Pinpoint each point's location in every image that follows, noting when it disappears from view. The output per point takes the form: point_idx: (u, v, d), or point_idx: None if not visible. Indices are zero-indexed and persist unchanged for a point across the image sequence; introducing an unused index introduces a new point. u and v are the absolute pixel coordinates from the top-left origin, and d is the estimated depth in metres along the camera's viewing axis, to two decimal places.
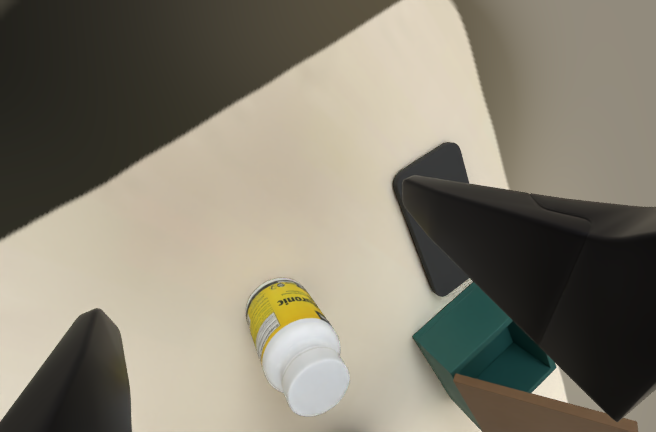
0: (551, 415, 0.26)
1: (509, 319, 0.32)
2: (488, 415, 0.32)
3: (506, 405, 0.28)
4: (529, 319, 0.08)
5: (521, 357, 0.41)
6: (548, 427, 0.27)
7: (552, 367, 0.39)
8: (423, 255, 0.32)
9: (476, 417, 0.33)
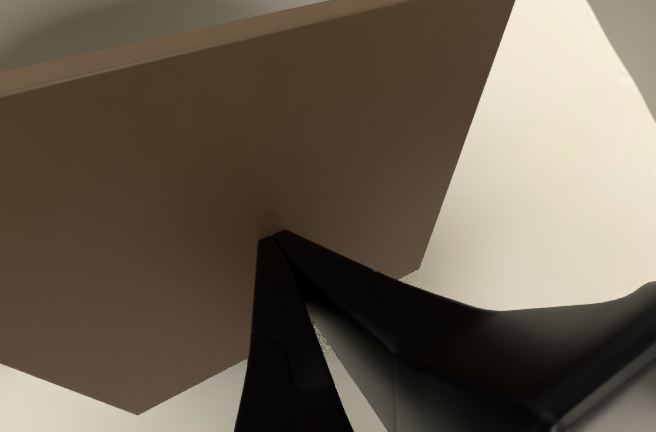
0: (37, 329, 0.07)
1: None
2: None
3: (137, 360, 0.10)
4: (382, 414, 0.07)
5: None
6: (162, 292, 0.09)
7: None
8: None
9: None
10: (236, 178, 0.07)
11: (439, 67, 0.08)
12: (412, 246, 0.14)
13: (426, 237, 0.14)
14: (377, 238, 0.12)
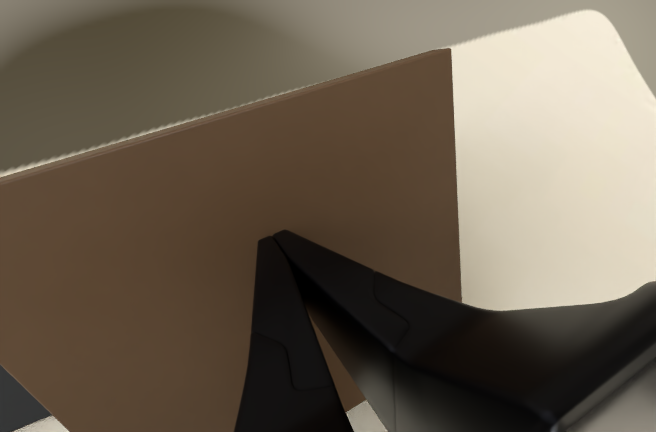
0: (83, 372, 0.08)
1: None
2: None
3: (167, 430, 0.10)
4: (383, 414, 0.07)
5: None
6: (191, 340, 0.09)
7: None
8: None
9: None
10: (248, 221, 0.09)
11: (404, 122, 0.10)
12: None
13: (456, 296, 0.14)
14: None
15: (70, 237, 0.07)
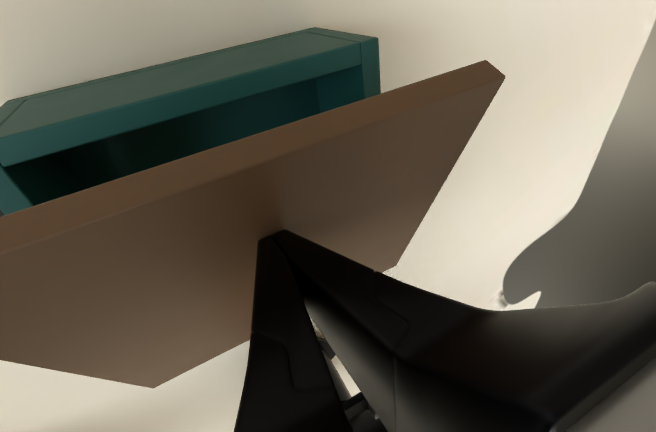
0: (89, 347, 0.09)
1: None
2: None
3: (159, 354, 0.12)
4: (382, 414, 0.07)
5: (330, 79, 0.16)
6: (187, 311, 0.10)
7: (363, 56, 0.13)
8: None
9: None
10: (256, 236, 0.09)
11: (427, 144, 0.09)
12: (392, 252, 0.17)
13: (404, 245, 0.17)
14: (363, 252, 0.14)
15: (74, 280, 0.07)
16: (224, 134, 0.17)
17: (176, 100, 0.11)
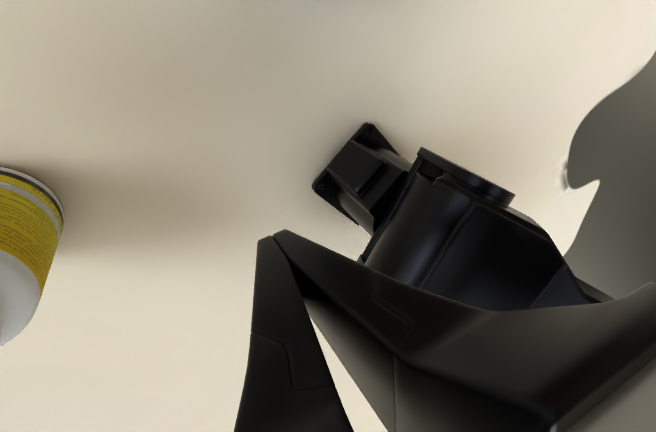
0: None
1: None
2: None
3: None
4: (383, 414, 0.07)
5: None
6: None
7: None
8: None
9: None
10: None
11: None
12: None
13: None
14: None
15: None
16: None
17: None
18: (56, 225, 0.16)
